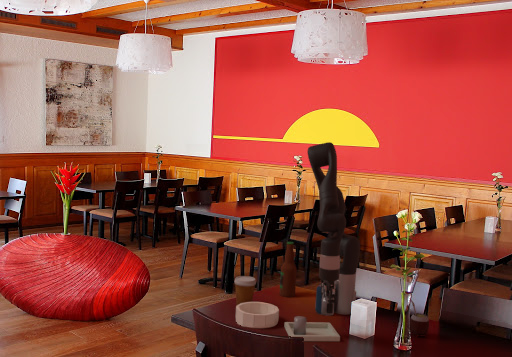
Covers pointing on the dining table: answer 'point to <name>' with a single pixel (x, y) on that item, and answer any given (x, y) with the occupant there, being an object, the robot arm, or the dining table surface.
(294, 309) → the dining table surface
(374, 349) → the dining table surface
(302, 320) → the grey cylinder
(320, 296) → the soda can
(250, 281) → the disposable coffee cup
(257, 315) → the bowl
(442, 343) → the dining table surface
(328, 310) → the robot arm
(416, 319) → the mate gourd
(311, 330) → the tray
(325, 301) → the grey cylinder
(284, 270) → the bottle
